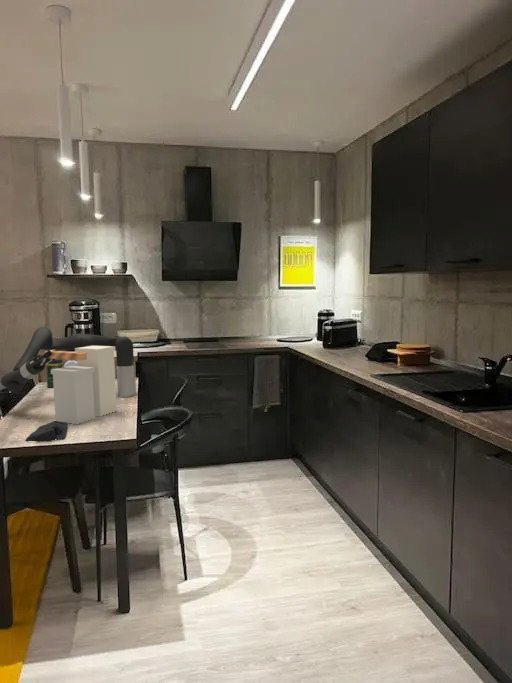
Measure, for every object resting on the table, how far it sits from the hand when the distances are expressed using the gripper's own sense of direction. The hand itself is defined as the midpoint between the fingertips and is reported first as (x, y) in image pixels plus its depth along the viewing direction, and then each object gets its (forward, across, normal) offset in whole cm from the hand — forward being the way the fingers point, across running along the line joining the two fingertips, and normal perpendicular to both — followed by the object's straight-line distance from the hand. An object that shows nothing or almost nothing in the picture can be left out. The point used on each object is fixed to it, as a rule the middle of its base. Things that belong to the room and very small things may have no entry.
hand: (54, 351), depth 233 cm
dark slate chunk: (-1, -21, +36) cm, 42 cm away
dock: (-6, 0, +32) cm, 33 cm away
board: (+4, 0, +6) cm, 7 cm away
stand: (-6, +15, +32) cm, 36 cm away
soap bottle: (-55, +55, +5) cm, 78 cm away
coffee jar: (-70, +58, -4) cm, 91 cm away
